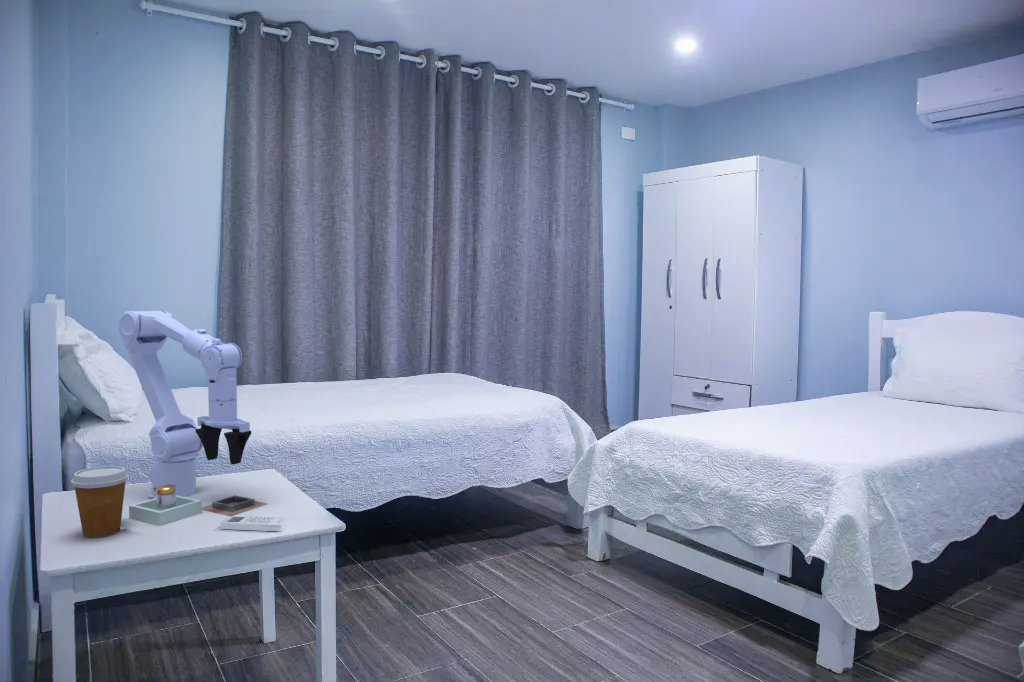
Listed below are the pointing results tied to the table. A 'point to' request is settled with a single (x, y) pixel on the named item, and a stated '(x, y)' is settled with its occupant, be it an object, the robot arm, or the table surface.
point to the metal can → (166, 497)
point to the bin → (165, 511)
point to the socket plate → (233, 505)
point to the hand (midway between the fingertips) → (223, 461)
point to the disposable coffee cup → (100, 499)
